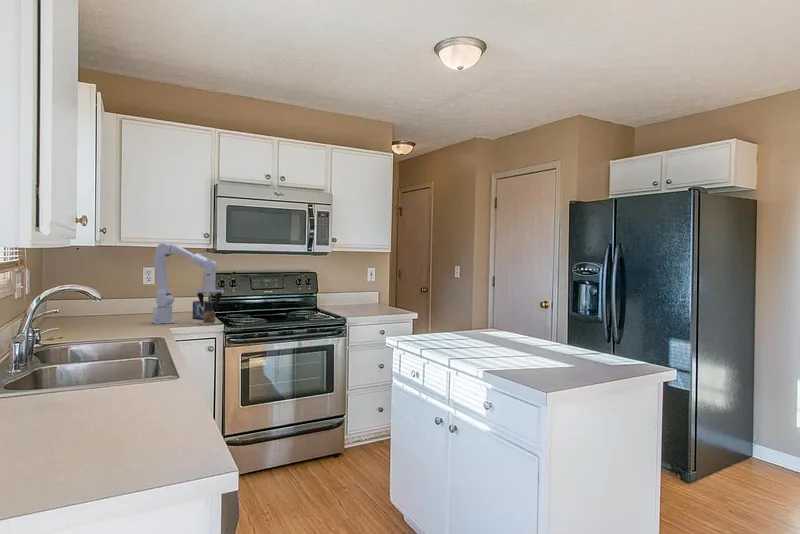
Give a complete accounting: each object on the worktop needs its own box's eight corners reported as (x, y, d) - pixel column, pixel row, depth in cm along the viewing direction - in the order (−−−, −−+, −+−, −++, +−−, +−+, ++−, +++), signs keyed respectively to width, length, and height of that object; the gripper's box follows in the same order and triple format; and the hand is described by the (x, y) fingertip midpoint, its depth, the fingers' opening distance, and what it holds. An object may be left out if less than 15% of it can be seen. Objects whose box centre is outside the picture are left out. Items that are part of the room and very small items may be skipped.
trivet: (202, 325, 264) (202, 323, 264) (198, 323, 271) (198, 321, 271) (219, 324, 269) (219, 322, 269) (215, 322, 276) (215, 320, 276)
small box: (191, 318, 289) (191, 301, 289) (200, 317, 295) (201, 300, 295) (203, 320, 284) (204, 302, 284) (212, 319, 290) (213, 301, 290)
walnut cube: (205, 322, 267) (205, 313, 267) (203, 321, 271) (203, 312, 271) (215, 322, 270) (215, 313, 269) (212, 321, 274) (212, 312, 274)
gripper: (197, 282, 262) (197, 307, 263) (225, 282, 271) (224, 306, 271) (194, 281, 268) (194, 306, 268) (221, 281, 276) (221, 305, 277)
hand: (209, 306), depth 270 cm, fingers open, 7 cm apart
